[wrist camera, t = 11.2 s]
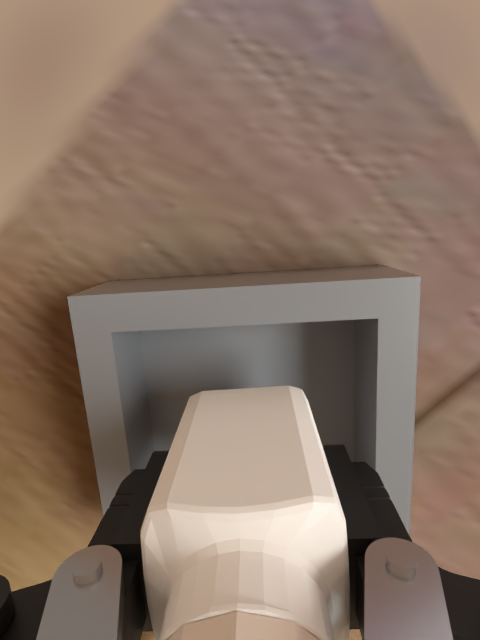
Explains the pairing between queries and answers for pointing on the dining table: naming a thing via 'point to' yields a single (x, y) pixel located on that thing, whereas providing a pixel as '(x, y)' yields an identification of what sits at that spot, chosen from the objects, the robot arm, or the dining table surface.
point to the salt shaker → (246, 525)
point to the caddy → (252, 360)
